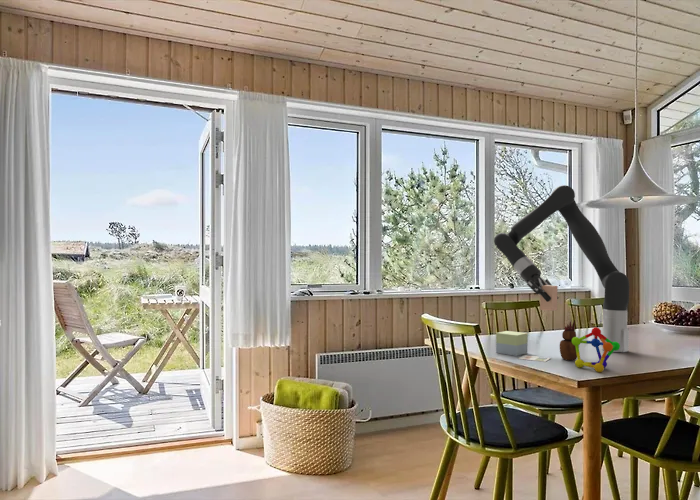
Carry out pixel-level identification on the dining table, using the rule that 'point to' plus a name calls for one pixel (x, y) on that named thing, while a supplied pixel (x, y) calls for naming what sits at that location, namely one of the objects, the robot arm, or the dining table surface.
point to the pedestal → (511, 343)
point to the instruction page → (534, 358)
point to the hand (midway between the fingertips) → (553, 299)
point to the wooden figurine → (568, 343)
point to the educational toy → (596, 342)
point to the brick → (553, 293)
